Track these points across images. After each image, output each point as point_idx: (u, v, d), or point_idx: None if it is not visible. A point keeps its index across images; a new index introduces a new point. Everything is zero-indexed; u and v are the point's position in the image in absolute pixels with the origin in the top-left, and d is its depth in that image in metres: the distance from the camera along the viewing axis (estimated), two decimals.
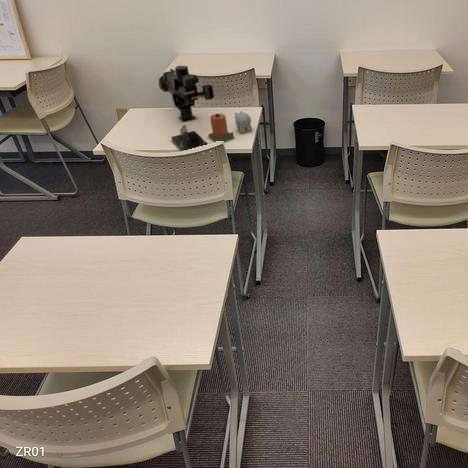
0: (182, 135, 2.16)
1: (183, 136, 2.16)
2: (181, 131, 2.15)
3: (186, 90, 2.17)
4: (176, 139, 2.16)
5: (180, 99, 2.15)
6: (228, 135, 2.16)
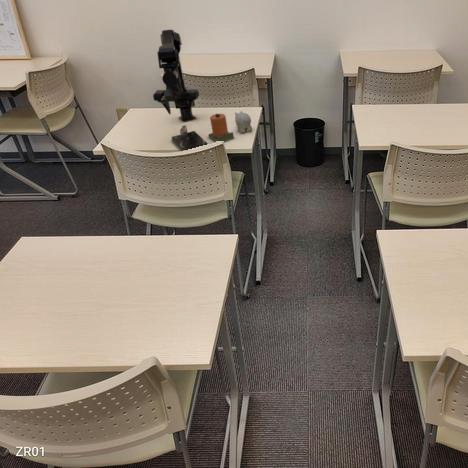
0: (182, 135, 2.16)
1: (183, 136, 2.16)
2: (181, 131, 2.15)
3: None
4: (176, 139, 2.16)
5: None
6: (228, 135, 2.16)
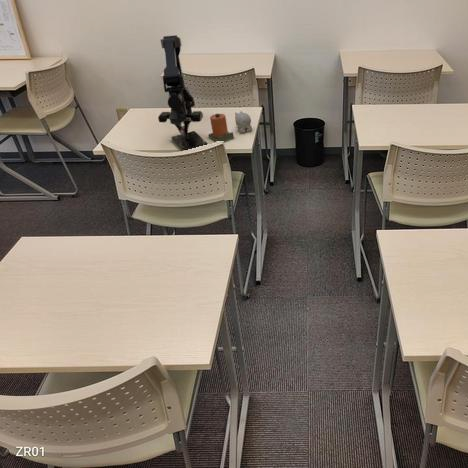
0: (182, 135, 2.16)
1: (183, 136, 2.16)
2: (181, 131, 2.15)
3: None
4: (176, 139, 2.16)
5: None
6: (228, 135, 2.16)
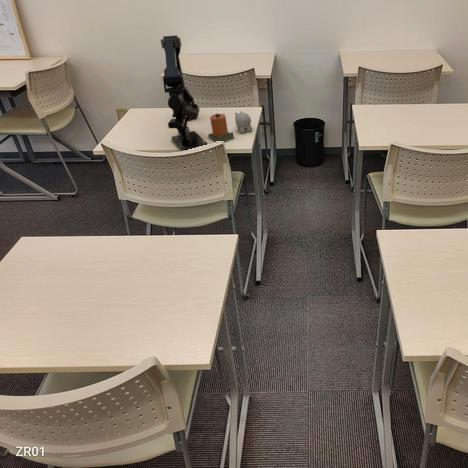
0: (189, 133, 2.18)
1: None
2: (188, 129, 2.17)
3: None
4: (176, 139, 2.16)
5: None
6: (228, 135, 2.16)
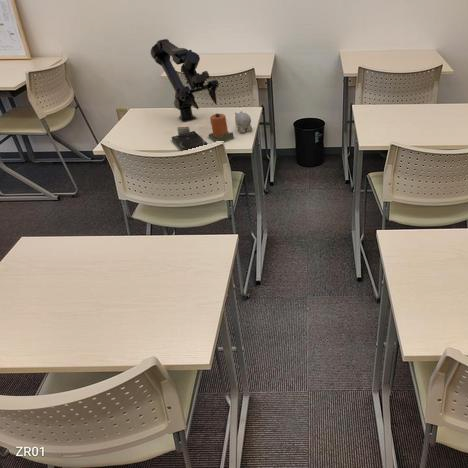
0: (189, 133, 2.18)
1: None
2: (188, 129, 2.17)
3: (194, 85, 2.13)
4: (176, 139, 2.16)
5: (187, 96, 2.13)
6: (228, 135, 2.16)
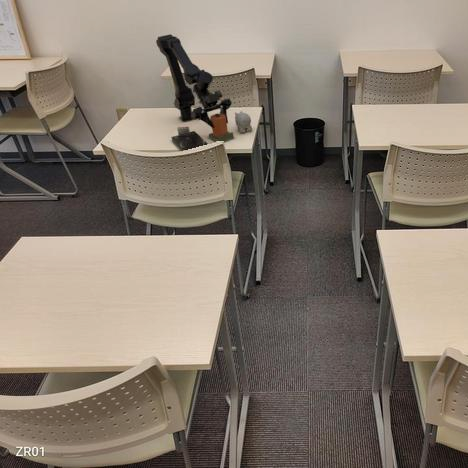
0: (189, 133, 2.18)
1: None
2: (188, 129, 2.17)
3: (207, 105, 2.12)
4: (176, 139, 2.16)
5: (202, 116, 2.12)
6: (228, 135, 2.16)
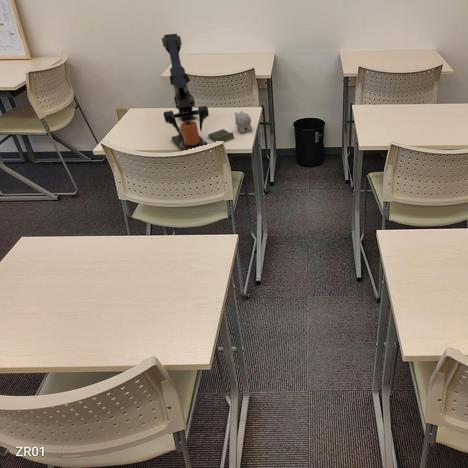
0: None
1: None
2: None
3: (180, 110, 2.06)
4: (176, 139, 2.16)
5: (171, 120, 2.07)
6: (228, 135, 2.16)
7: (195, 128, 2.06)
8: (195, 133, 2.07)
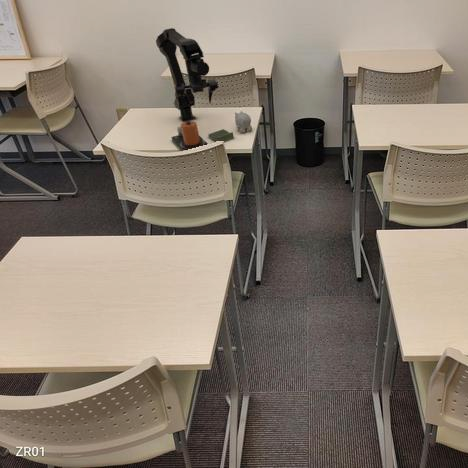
0: None
1: None
2: None
3: None
4: (176, 139, 2.16)
5: None
6: (228, 135, 2.16)
7: (195, 128, 2.06)
8: (195, 133, 2.07)
